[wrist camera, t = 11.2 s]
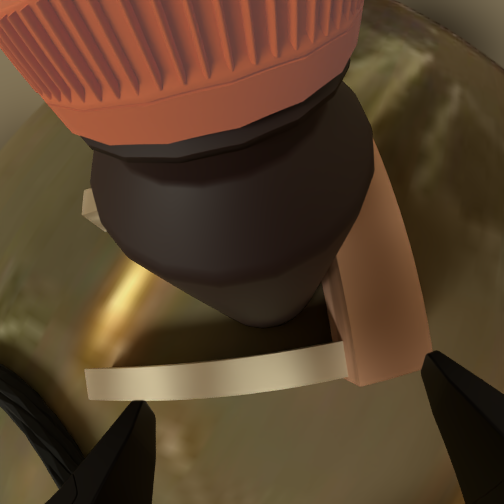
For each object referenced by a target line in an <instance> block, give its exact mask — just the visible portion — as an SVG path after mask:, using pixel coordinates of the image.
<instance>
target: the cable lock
mask: <svg viewBox="0 0 504 504" xmlns="http://www.w3.org/2000/svg"><path fill="white" fill-rule="evenodd" d="M0 407H1V408H2V409H3V410H4V411H5V412H6V413H7V414H8V415H9V416H10V418H11V419H12V420H13V421H14V422H15V423H16V425H17V426H18V427H19V428H20V429H21V430H22V431H23V432H24V434H25V435H26V437H27V438H28V440H29V441H30V443H31V445H32V446H33V448H34V449H35V451H36V452H37V454H38V455H39V457H40V458H41V460H42V461H43V463H44V465H45V466H46V468H47V470H48V472H49V473H50V475H51V477H52V478H53V480H54V482H55V483H56V485H57V487H58V488H59V489H60V488H61V487H62V486H63V484H64V483H65V482H66V481H67V480H68V479H69V477H70V476H71V475H72V474H74V471H75V470H76V469H77V468H78V466H79V465H80V464H81V463H82V461H83V460H84V459H85V458H84V456H83V455H82V453H81V451H80V450H79V448H78V446H77V444H76V443H75V441H74V440H73V439H72V437H71V436H70V435H69V433H68V432H67V430H66V429H65V428H64V426H63V425H62V423H61V422H60V420H59V419H58V417H57V416H56V415H55V414H54V413H53V412H52V411H51V410H50V409H49V408H48V407H47V406H46V404H45V403H44V402H43V400H42V399H41V397H40V396H39V395H38V393H37V392H35V391H34V390H33V389H32V388H31V387H30V386H28V385H27V384H26V383H25V382H24V381H23V380H22V379H21V378H20V377H18V376H17V375H16V374H15V373H14V372H12V371H10V370H9V369H7V368H6V367H5V366H4V365H2V364H0Z"/></svg>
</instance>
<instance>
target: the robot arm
mask: <svg viewBox="0 0 504 504" xmlns="http://www.w3.org/2000/svg"><path fill="white" fill-rule="evenodd" d="M421 376H422V379H423V382H424V386H425V389H426V392H427V396H428V399H429V402H430V406H431V409H432V413H433V415H434V418H435V421H436V423H437V425H438V428H439V430H440V433H441V436H442V438H443V441H444V443H445V446H446V448H447V451H448V454H449V457H450V459H451V462H452V465H453V468H454V470H455V473H456V476H457V479H458V482H459V485H460V488H461V491H462V494H463V497H464V501H465V504H504V394H502V393H501V392H500V391H498V390H497V389H495V388H494V387H492V386H491V385H489V384H488V383H486V382H485V381H483V380H482V379H480V378H479V377H477V376H476V375H474V374H473V373H471V372H470V371H468V370H467V369H465V368H464V367H462V366H461V365H459V364H458V363H456V362H455V361H453V360H452V359H450V358H449V357H447V356H446V355H444V354H443V353H441V352H440V351H433V352H430V353H427V354H426V355H425V358H424V362H423V365H422V368H421ZM155 462H156V418H155V414H154V413H153V411H152V410H151V408H150V407H149V405H148V404H147V402H146V401H144V400H133V401H132V402H131V403H130V404H129V405H128V406H127V408H126V409H125V410H124V411H123V412H122V414H121V415H120V416H119V417H118V419H117V420H116V421H115V422H114V423H113V425H112V426H111V427H110V428H109V430H108V431H107V432H106V433H105V435H104V436H103V437H102V438H101V439H100V441H99V442H98V443H97V444H96V446H95V447H94V448H93V449H92V450H91V452H90V453H89V454H88V455H87V457H86V458H85V459H84V460H83V461H82V463H81V464H80V465H79V466H78V468H77V469H76V470H75V471H74V474H72V475H71V476H70V477H69V479H68V480H67V481H66V482H65V483H64V484H63V486H62V487H61V488H60V489H59V490H58V491H57V492H56V493H55V494H54V495H53V496H52V497H51V498H50V499H49V500H48V501H47V502H46V503H45V504H152V494H153V483H154V472H155Z"/></svg>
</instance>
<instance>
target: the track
mask: <svg viewBox="0 0 504 504" xmlns="http://www.w3.org/2000/svg"><path fill="white" fill-rule="evenodd" d="M373 148H374V168H375V170H374V175H373V178H372V180H371V183H370V186H369V189H368V192H367V194H366V197H365V200H364V203H363V205H362V208H361V210H360V213H359V216H358V217H357V219H356V221H355V223H354V225H353V227H352V228H351V230H350V232H349V234H348V236H347V237H346V239H345V241H344V243H343V245H342V246H341V248H340V250H339V252H338V253H337V255H336V257H335V258H334V260H333V262H332V264H331V265H330V267H329V269H328V271H327V272H326V274H325V276H324V277H323V279H322V286H323V291H324V297H325V302H326V307H327V313H328V318H329V324H330V330H331V336H332V342H328V343H323V344H318V345H313V346H307V347H302V348H296V349H290V350H284V351H278V352H272V353H265V354H259V355H252V356H244V357H237V358H229V359H220V360H211V361H202V362H191V363H180V364H167V365H152V366H134V367H109V368H93V369H85V376H86V384H87V391H88V398H89V400H110V401H133V400H144V401H159V400H184V399H200V398H213V397H224V396H234V395H243V394H252V393H260V392H267V391H274V390H281V389H287V388H293V387H299V386H305V385H310V384H315V383H321V382H326V381H331V380H335V379H340V378H344V379H346V380H348V381H350V382H352V383H354V384H355V385H357V386H359V387H361V386H365V385H369V384H373V383H377V382H381V381H384V380H388V379H392V378H395V377H398V376H402V375H405V374H408V373H412V372H415V371H418V370H421V368H422V365H423V362H424V358H425V355H426V354H427V353H430V352H433V350H432V344H431V337H430V331H429V326H428V320H427V315H426V310H425V305H424V300H423V295H422V291H421V286H420V282H419V278H418V273H417V269H416V265H415V261H414V258H413V254H412V250H411V246H410V243H409V239H408V236H407V232H406V229H405V226H404V222H403V219H402V216H401V213H400V210H399V206H398V203H397V200H396V197H395V194H394V192H393V189H392V186H391V183H390V180H389V177H388V175H387V172H386V169H385V167H384V164H383V161H382V159H381V156H380V154H379V151H378V149H377V146H376V144H375V141H374V139H373ZM82 215H83V216H84V217H86V218H87V219H88V220H90V221H91V222H92V223H94V224H95V225H97V226H98V227H99V228H101V229H102V230H104V231H105V232H106V231H107V230H106V229H105V228H104V226H103V225H102V224H101V221H100V218H99V215H98V211H97V208H96V204H95V200H94V196H93V192H92V188H90V189H87V190H84V197H83V207H82Z"/></svg>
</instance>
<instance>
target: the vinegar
mask: <svg viewBox="0 0 504 504" xmlns="http://www.w3.org/2000/svg"><path fill="white" fill-rule="evenodd" d="M363 4H364V0H0V48H1V50H2V51H3V52H4V53H5V55H6V56H7V57H8V58H9V60H10V61H11V62H12V63H13V65H14V66H15V67H16V68H17V70H18V71H19V72H20V73H21V75H22V76H23V77H24V78H25V80H27V82H28V83H29V84H30V86H31V87H32V88H33V89H34V90H35V91H36V93H39V94H40V96H41V97H42V98H43V99H44V101H45V102H46V103H47V104H48V105H49V106H50V108H51V109H52V110H53V111H54V112H55V114H56V115H57V116H58V117H59V118H60V119H61V120H62V122H63V123H64V124H65V125H66V126H67V127H68V129H69V130H70V131H71V132H72V133H73V134H77V135H80V136H81V137H82V139H83V140H84V141H85V142H86V143H87V144H88V145H89V147H90V148H91V149H92V150H94V154H93V162H92V171H91V180H90V184H91V188H92V192H93V196H94V200H95V204H96V208H97V211H98V215H99V218H100V221H101V224H102V225H103V226H104V228H105V229H106V230H107V232H108V233H109V234H110V236H111V237H112V238H113V239H114V241H115V242H116V243H117V245H118V246H119V247H120V248H121V250H122V251H123V252H124V253H125V255H126V256H127V257H128V258H129V259H131V260H133V261H134V262H136V263H137V264H139V265H141V266H142V267H144V268H146V269H147V270H149V271H150V272H152V273H154V274H155V275H157V276H159V277H160V278H162V279H164V280H165V281H167V282H169V283H170V284H172V285H174V286H176V287H177V288H179V289H181V290H182V291H184V292H186V293H188V294H189V295H191V296H193V297H195V298H196V299H198V300H200V301H202V302H203V303H205V304H207V305H209V306H211V307H212V308H214V309H216V310H218V311H220V312H221V313H223V314H225V315H227V316H229V317H230V318H232V319H234V320H236V321H238V322H240V323H242V324H244V325H246V326H252V327H259V328H268V327H273V326H279V325H282V324H284V323H285V322H287V321H289V320H291V319H293V318H295V317H296V316H297V315H298V314H299V313H300V312H301V311H302V309H303V308H304V307H305V306H306V305H307V304H308V302H309V300H310V299H311V297H312V296H313V294H314V292H315V291H316V289H317V287H318V286H319V284H320V282H321V281H322V279H323V277H324V276H325V274H326V272H327V271H328V269H329V267H330V265H331V264H332V262H333V260H334V258H335V257H336V255H337V253H338V252H339V250H340V248H341V246H342V245H343V243H344V241H345V239H346V237H347V236H348V234H349V232H350V230H351V228H352V227H353V225H354V223H355V221H356V219H357V217H358V216H359V213H360V210H361V208H362V205H363V203H364V200H365V197H366V194H367V192H368V189H369V186H370V183H371V180H372V178H373V175H374V170H375V168H374V148H373V133H372V128H371V125H370V123H369V121H368V119H367V117H366V114H365V112H364V110H363V108H362V106H361V104H360V102H359V100H358V98H357V96H356V95H355V93H354V92H353V91H352V90H351V89H350V88H349V87H348V86H347V85H346V84H345V83H344V82H343V81H342V80H343V78H344V76H345V74H346V72H347V70H348V68H349V65H350V56H351V54H352V52H353V50H354V49H355V47H356V45H357V41H358V35H359V29H360V23H361V17H362V10H363Z"/></svg>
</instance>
